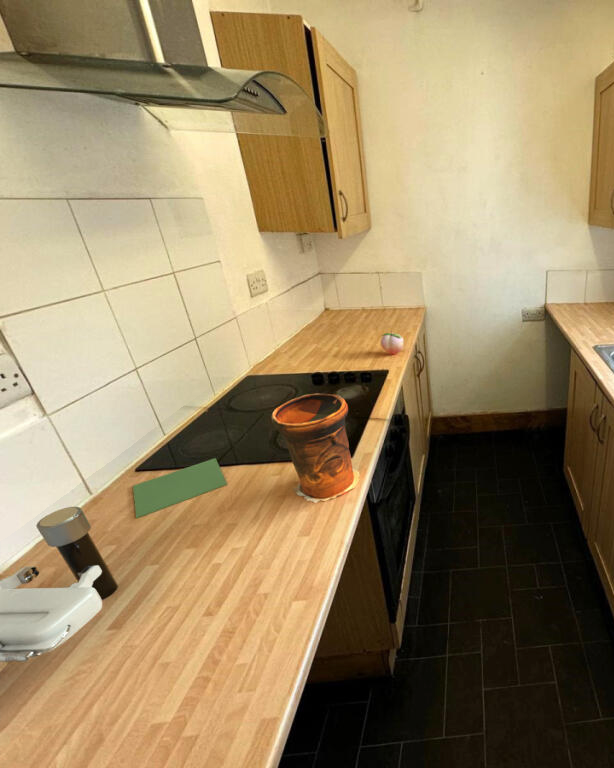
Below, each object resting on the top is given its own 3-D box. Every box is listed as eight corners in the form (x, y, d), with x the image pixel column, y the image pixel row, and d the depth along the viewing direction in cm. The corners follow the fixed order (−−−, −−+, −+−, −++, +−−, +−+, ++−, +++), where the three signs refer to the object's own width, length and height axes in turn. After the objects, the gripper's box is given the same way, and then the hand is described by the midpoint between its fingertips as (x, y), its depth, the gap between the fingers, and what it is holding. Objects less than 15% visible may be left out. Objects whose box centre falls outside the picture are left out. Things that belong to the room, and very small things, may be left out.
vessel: (312, 516, 85) (289, 431, 76) (282, 487, 93) (258, 408, 85) (374, 482, 95) (359, 404, 86) (342, 459, 103) (326, 386, 95)
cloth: (136, 518, 85) (136, 517, 85) (133, 486, 94) (132, 485, 94) (227, 484, 94) (226, 483, 94) (216, 458, 104) (215, 457, 104)
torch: (83, 610, 66) (33, 533, 59) (84, 591, 69) (37, 515, 62) (123, 593, 69) (80, 517, 62) (122, 575, 72) (81, 501, 65)
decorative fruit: (408, 351, 175) (406, 328, 171) (401, 358, 168) (398, 334, 164) (387, 350, 177) (384, 327, 173) (379, 357, 169) (375, 333, 165)
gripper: (27, 643, 49) (125, 552, 62) (-148, 646, 49) (-14, 554, 61) (52, 676, 52) (141, 582, 64) (-114, 679, 51) (8, 584, 64)
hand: (64, 568), depth 63 cm, fingers open, 8 cm apart
